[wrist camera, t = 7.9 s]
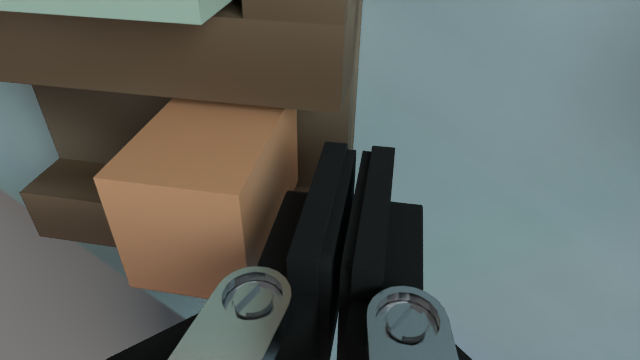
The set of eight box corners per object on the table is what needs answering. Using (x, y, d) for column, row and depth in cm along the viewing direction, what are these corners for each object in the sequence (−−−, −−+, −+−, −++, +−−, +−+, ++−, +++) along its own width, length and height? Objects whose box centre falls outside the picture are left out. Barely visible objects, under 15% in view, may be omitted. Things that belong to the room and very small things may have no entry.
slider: (193, 77, 13) (93, 177, 9) (296, 86, 13) (238, 195, 9) (208, 170, 15) (129, 286, 11) (297, 180, 15) (251, 305, 11)
